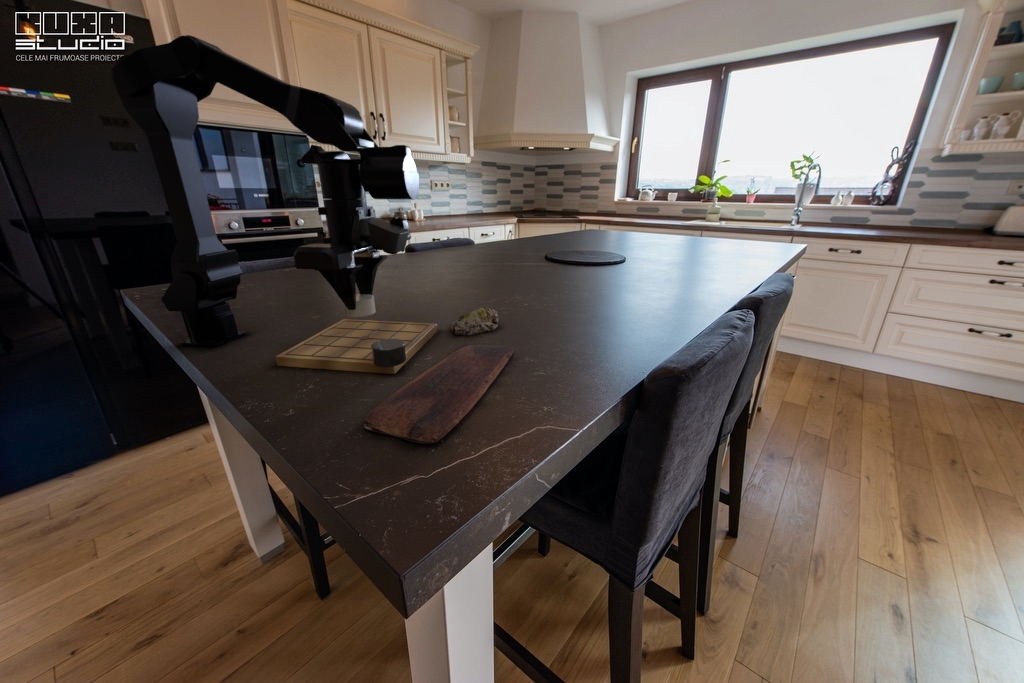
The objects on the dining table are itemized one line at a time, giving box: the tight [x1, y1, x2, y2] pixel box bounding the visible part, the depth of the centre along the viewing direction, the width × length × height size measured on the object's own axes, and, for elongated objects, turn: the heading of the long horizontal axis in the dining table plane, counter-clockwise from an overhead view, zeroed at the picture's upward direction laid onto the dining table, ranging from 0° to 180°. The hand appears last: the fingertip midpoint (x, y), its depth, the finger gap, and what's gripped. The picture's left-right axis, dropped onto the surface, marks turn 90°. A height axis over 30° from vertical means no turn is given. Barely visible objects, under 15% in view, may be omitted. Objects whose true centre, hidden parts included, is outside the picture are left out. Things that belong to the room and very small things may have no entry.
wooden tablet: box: [362, 344, 514, 445], centre depth 51 cm, size 26×2×10 cm
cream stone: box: [344, 293, 377, 318], centre depth 62 cm, size 4×4×2 cm
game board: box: [275, 318, 438, 375], centre depth 64 cm, size 18×18×2 cm
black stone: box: [371, 339, 406, 367], centre depth 55 cm, size 4×4×2 cm
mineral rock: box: [450, 307, 500, 336], centre depth 73 cm, size 11×4×8 cm
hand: (359, 305), depth 62 cm, fingers closed on cream stone, 4 cm apart
